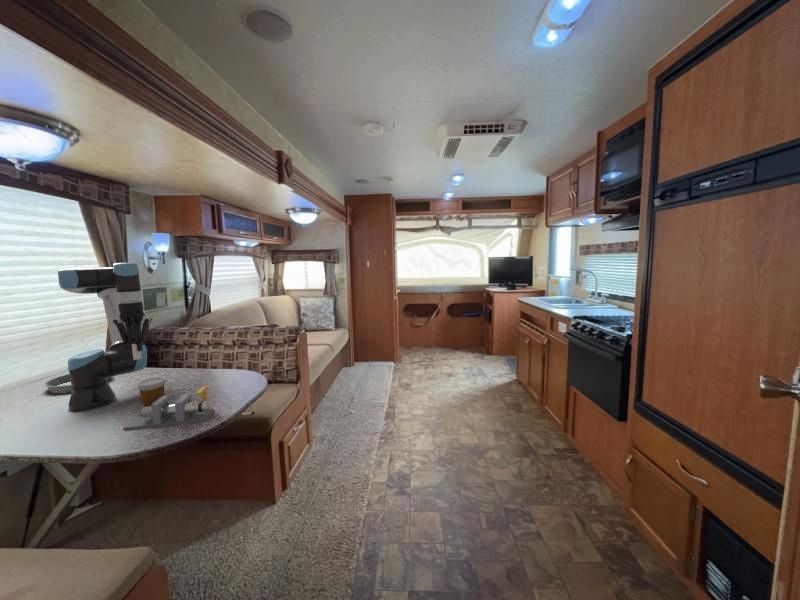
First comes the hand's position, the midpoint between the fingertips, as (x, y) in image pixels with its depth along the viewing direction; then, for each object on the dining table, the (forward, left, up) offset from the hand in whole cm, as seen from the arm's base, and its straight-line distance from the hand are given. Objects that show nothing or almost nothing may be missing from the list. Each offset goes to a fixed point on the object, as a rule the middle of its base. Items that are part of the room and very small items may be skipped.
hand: (137, 358), depth 132 cm
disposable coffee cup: (+3, +2, -23) cm, 23 cm away
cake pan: (-50, +42, -23) cm, 69 cm away
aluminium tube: (+17, -11, -21) cm, 29 cm away
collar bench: (+15, -11, -23) cm, 29 cm away
